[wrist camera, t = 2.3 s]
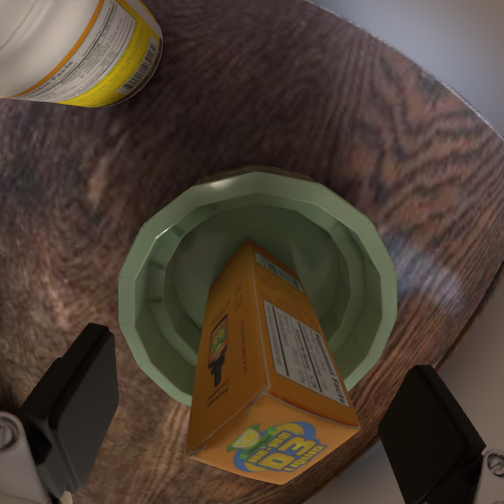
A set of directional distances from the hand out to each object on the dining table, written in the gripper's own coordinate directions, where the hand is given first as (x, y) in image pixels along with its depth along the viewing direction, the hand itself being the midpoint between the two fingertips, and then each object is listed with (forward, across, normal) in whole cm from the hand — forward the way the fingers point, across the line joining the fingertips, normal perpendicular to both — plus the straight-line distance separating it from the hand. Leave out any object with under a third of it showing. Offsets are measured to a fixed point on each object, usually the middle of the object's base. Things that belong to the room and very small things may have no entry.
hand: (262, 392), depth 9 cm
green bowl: (+8, 0, 0) cm, 8 cm away
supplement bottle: (+8, +9, -10) cm, 16 cm away
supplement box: (+8, 0, 0) cm, 8 cm away
